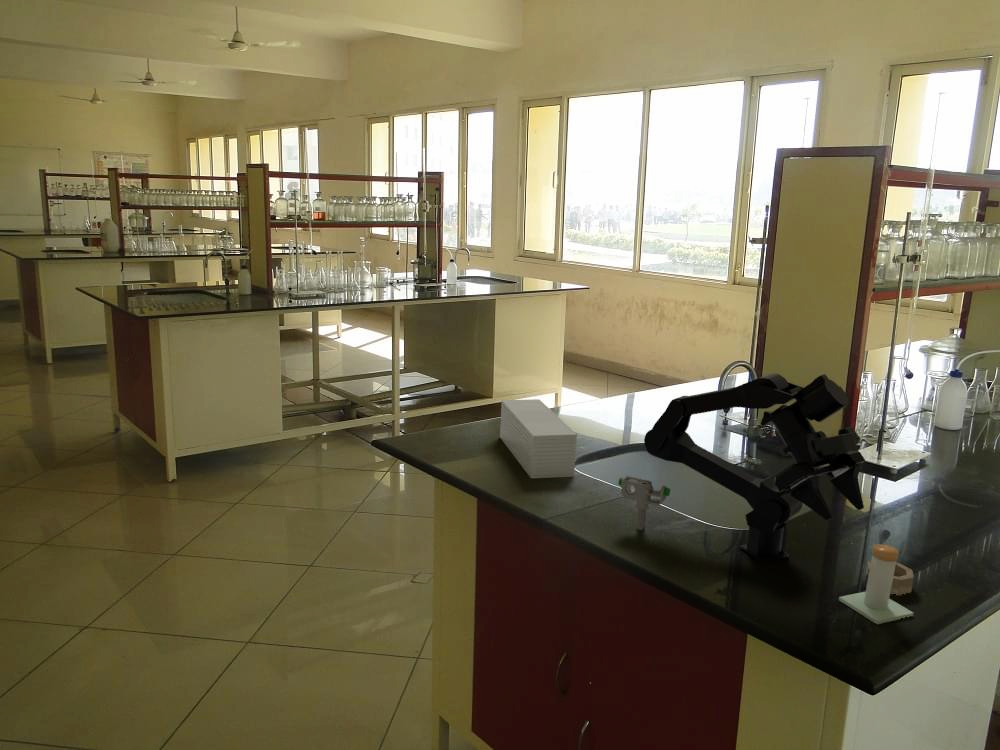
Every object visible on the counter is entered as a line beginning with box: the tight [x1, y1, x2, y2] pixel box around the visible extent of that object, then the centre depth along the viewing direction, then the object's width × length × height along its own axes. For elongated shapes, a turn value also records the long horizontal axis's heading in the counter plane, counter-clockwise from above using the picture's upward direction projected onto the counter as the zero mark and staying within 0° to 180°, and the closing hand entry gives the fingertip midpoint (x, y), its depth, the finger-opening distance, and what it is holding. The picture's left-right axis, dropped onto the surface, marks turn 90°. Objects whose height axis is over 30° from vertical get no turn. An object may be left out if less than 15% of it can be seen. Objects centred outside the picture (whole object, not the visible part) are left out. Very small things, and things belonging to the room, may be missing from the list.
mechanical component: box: [617, 475, 671, 531], centre depth 156 cm, size 3×10×10 cm, turn 61°
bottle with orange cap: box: [864, 543, 899, 610], centre depth 129 cm, size 4×4×10 cm
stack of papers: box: [499, 398, 578, 479], centre depth 198 cm, size 32×11×11 cm, turn 13°
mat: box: [838, 591, 914, 625], centre depth 130 cm, size 8×8×1 cm
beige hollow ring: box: [863, 560, 915, 596], centre depth 138 cm, size 8×7×3 cm
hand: (845, 514), depth 134 cm, fingers open, 9 cm apart
